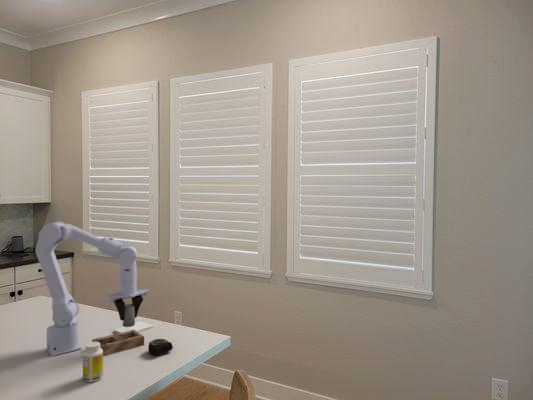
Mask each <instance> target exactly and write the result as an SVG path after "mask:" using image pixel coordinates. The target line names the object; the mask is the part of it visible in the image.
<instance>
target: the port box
mask: <svg viewBox="0 0 533 400" xmlns="http://www.w3.org/2000/svg"><path fill="white" fill-rule="evenodd" d="M91 339H92V338H91ZM91 342H99V343H100V348H101V349H102V350H103V357H104V356H107V355H112V354H115V353H119V352H122V351H126V350H130V349H134V348H137V347H142V346H144V345H145V336H144V335H143V334H141V332H139V333H138V332H137V331H135V330H130V331H126V332H122V333H113V334H110V335H105V336H101V337H100V336H99V337H96V338H93V339H92V340H91Z"/></svg>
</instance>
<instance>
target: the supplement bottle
mask: <svg viewBox="0 0 533 400" xmlns="http://www.w3.org/2000/svg"><path fill="white" fill-rule="evenodd" d="M84 349H85V350H84V351H83V352H82V380H83V381H84V382H86V383H94V382H99V381H100V380H101V379H102V378H103V377H104V356H103V350H102V349H101V348H100V343H99V342H92V341H91V342H88V343H86V344H85V348H84Z"/></svg>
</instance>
